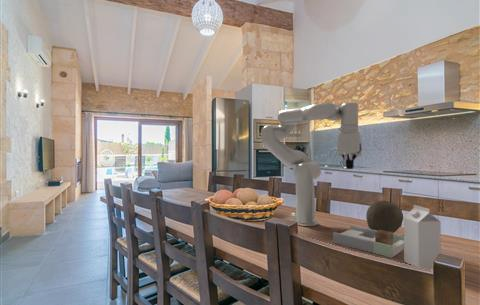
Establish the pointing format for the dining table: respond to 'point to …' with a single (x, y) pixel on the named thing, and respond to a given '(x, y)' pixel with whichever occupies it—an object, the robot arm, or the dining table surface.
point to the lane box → (368, 241)
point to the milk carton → (421, 237)
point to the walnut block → (384, 237)
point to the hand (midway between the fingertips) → (349, 168)
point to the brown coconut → (384, 216)
